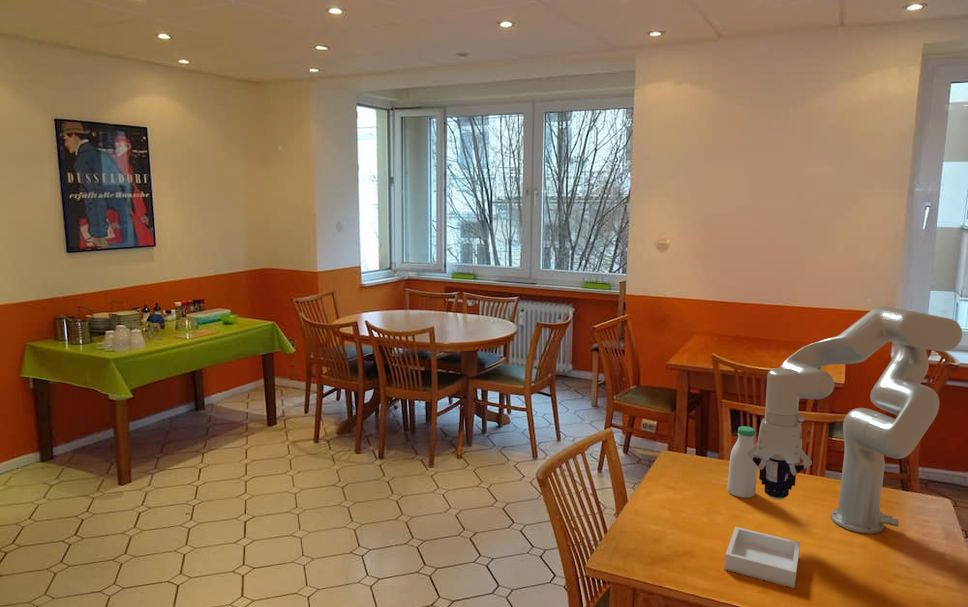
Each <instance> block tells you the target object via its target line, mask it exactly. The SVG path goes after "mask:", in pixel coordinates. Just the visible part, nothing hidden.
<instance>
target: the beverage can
mask: <svg viewBox="0 0 968 607" xmlns="http://www.w3.org/2000/svg"><path fill="white" fill-rule="evenodd" d="M765 465H766V474H765V484H764V490H763V491H764V494H766V495H767V496H768V497H769V498H771V499H774V500H781V501H782V500H783V499H785V498H787V497H788V496H789V494H790V493H789V491H790V490H789V489H788V485H789V474H790V471H791V470H790V467H789V464H788V463H787V462H786V460H785V459H784V458H783V457H782V455H776V454H774V456H772V457H770V458H769V460H767V462H766V464H765Z"/></svg>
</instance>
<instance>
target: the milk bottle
mask: <svg viewBox="0 0 968 607" xmlns="http://www.w3.org/2000/svg"><path fill="white" fill-rule="evenodd" d="M737 435H738V436H737V440H736V442H735V444H734V445H733V447H732V448H731V451H730V458H729V465H728V476H727V491H728V493H729V494H731V495H732V496H734V497H736V498H737V497H738V498H742V499H748V498H753V497H755V495H756V489H757V488H756V487H757V478H758V477H757V476H758V469H759V468H758V466H757V465H756V464H755V463H754V461H753V460H752V459H751V458H750V457H749V456H748V455H747V451H748V450H749V449H750V448H751V447H753V446H754V445H755V440H754V439H755V435H756V430H755V428H753V427H751V426H746V425H745V426H744V425H742V426H738V429H737ZM755 455H756V456H757V451H756V452H755Z"/></svg>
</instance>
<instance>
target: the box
mask: <svg viewBox="0 0 968 607" xmlns="http://www.w3.org/2000/svg"><path fill="white" fill-rule="evenodd" d="M800 549H801V541H797V540H792V539H788V538H784V537H781V536H776V535H772V534H766V533H763V532H759V531H754V530H751V529H746V528H743V527H738V526H735V527H734V529H733V532H732V535H731V538H730V541H729V544H728V546H727V548H726V552H725V558H724V571H727V570H728V572H730V571H732V572H731V573H734V572H736V573H735V574H738V573H739V575H741V574H742V576H745V575H746V577H749V576H750V578H752V577H754V578H753V579H756V578H757V579H758V580H761V581H763V580H765V582H767V581H768V583H771V582H772V583H771V584H774V583H776V584H775V585H778V584H780V585H779V586H782V585H784V586H783V587H785V586H788V587H787V588H789V587H791V588H790V589H793V588H794V589H795V586H796V579H797V573H798V565H799V559H800V558H799V557H800V551H801V550H800Z"/></svg>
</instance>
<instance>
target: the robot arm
mask: <svg viewBox="0 0 968 607" xmlns="http://www.w3.org/2000/svg"><path fill="white" fill-rule="evenodd" d="M962 338H963V330H962V327H961V325H960V324H959V323H958V322H957V321H956V320H955V319H953V318H948V317H944V316H938V315H933V314H929V313H924V312H919V311H913V310H912V311H911V310H906V309H902V308H897V307H892V306H887V305H886V306H884V305H882V306H881V305H880V306H877V307H874V308H873V309H871V310H870V311H869V312H866V314H864V315H863V316H861V317H860V318H859V319H858V320H856V321H855V322H854V323H853V324H851V325H850V326H849V327H848V328H846V329H845V330H843V331H842V332H841V333H840V334H838V335H836V336H833V337H829V338H826V339H825V338H824V339H822V340H820V341H816V342H813V343H810V344H806V345H805V346H803V347H801V348H799V349H798V350H797V351H795V352H794V353H793V354H791V355H790V356H788V358H786V359H785V360H784V361H783V362H782V363H781V364H780V366H779V367H775V368H772V369H770V370H768V372H767V376H766V390H765V392H766V394H765V395H766V396H765V409H764V410H765V411H764V418H762V420H761V423H760V426H759V430H758V431H759V432H758V437H757V442H756V443H754V446H753V447H751V448H750V449H749V450H748V451H747V455H748V456H749V457H750V458H751V459H752V460H753V461H754V463H755V464H756V465H757V466H758V468H757V469H759V476H758V477H759V478H758V479H759V481H761V486H763V485H764V486H765V474H766V462H767V460H769V458H770V457H772V456H774V454H776V455H782V457H783V458H784V459H785V460H786V462H787V463H788V464H789V467H790V474H789V485H788V489H789V491H792V489H793V487H795V486H796V479H797V478H796V476H797V475H798V474H799V473H800V472H802V471H804V470H805V469H807V468H808V467H810V466H811V465H812V464H813V462H812V460H811V459H810V458H809V456H808V455H807V454H806V453H805V451H804V450H803V435H802V426H801V425H802V424H801V423H799V422H804V421H805V416H804V415H803V416H802V415H801V414H799V405H800V404H799V402H800V400H801V399H803V400H804V399H805V400H807V399H808V400H822V399H825V398H827V397H828V396H830V395H831V394H832V393H833V391H834V390H835V381H834V378H833V376H832V375H831V374H830V373H829V372H827V371H825V370H823V369H821V368H822V367H826V366H832V365H850V364H859V363H862V362H864V361H866V360H868V358H870V356H872V355H873V354H874V353H876V352H877V351H878V350H880V349H881V348H882V347H883V346H884V345H886V344H887V343H890V342H892V343H894V346H893V347H894V351H893V352H894V353H893V356H892V358H891V360H890V362H889V363H888V365H887V366H886V368H885V369H884V370H883V372H882V374H881V375H880V376H879V378H878V380H877V381H876V383H875V384H874V386H873V388H872V389H871V392H870V396H869V398H870V401H871V403H872V404H873V405H874V406H875V407H877V408H879V409H881V410H883V411H884V412H885V411H886V412H887V413H889V414H893V415H896V418H895V417H892V416H890V415H886V414H884V413H881V412H879V411H875V410H873V409H871V408H865V407H857V408H854V409H851V410H850V411H848V412H847V414H846V415H845V417H844V420H843V426H842V429H843V430H842V431H843V439H844V440H843V441H844V454H843V462H842V471H841V472H842V473H841V481H840V488H839V497H838V505H837V506H838V507H837V508H835V509H833V510H831V512H830V518H831V520H832V522H834V523H835V524H836V525H838V526H840V527H842V528H844V529H846V530H849V531H853V532H854V533H855V532H856V533H860V534H878V533H880V532H883V530H884V528H885V525H889V526H892V527H899V520H900V519H898V518H895V517H894V516H893V514H885V513H883V512H882V511H881V507H880V506H881V498H882V489H883V482H884V472H885V466H886V464H885V457H884V456H886V457H889V458H892V459H895V460H896V459H897V460H898V459H903V458H906V457H907V456H909V455H910V454H911V453H912V452H913V451H914V450H915V448H916V447H917V445H918V444H919V443H920V441H921V439H923V437H924V435H925V434H926V432H927V431H928V430H929V428H930V426H931V424H933V422H934V420H935V418H936V417H937V415H938V412H939V410H940V397H939V395H938V393H937V392H936V390H934V389H933V388H931V387H929V386H927V385H924V384H921V383H922V382H923V381H924V379H925V378H926V375H927V373H928V370H929V368H930V366H929V365H930V364H929V357H928V353H927V351H926V350H930V351H937V352H949V351H952V350H953V349H955V348H956V347H958V345H959V344H960V343H961V340H962ZM756 451H757V456H756V455H755V452H756ZM801 460H802V462H800V461H801Z"/></svg>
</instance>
